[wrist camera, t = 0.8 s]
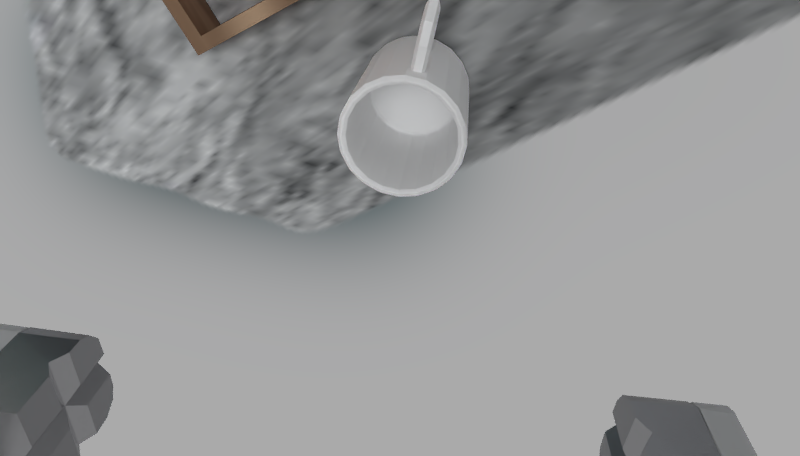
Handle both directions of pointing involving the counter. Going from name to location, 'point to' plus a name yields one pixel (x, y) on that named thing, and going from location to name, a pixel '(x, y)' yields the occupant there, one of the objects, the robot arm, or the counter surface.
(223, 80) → the counter surface
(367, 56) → the counter surface
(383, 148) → the mug
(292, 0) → the wooden frame
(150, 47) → the counter surface
